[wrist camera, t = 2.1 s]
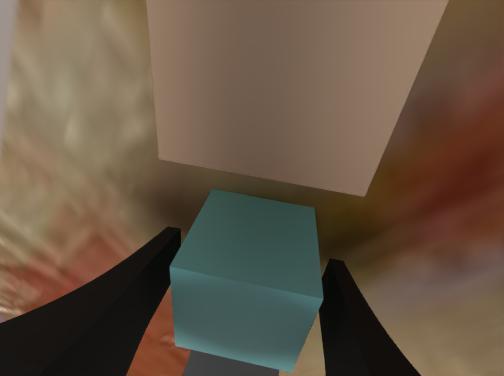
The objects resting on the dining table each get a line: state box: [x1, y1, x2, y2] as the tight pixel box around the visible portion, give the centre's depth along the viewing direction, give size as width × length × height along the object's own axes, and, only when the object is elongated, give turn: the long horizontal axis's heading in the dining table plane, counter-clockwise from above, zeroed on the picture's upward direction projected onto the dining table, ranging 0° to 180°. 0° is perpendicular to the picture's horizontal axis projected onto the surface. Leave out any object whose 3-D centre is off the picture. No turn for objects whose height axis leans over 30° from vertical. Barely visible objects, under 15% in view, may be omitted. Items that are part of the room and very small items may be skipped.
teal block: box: [170, 189, 323, 372], centre depth 12 cm, size 5×5×5 cm
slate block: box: [183, 350, 279, 376], centre depth 16 cm, size 5×5×5 cm
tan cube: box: [146, 0, 449, 197], centre depth 7 cm, size 5×5×5 cm
